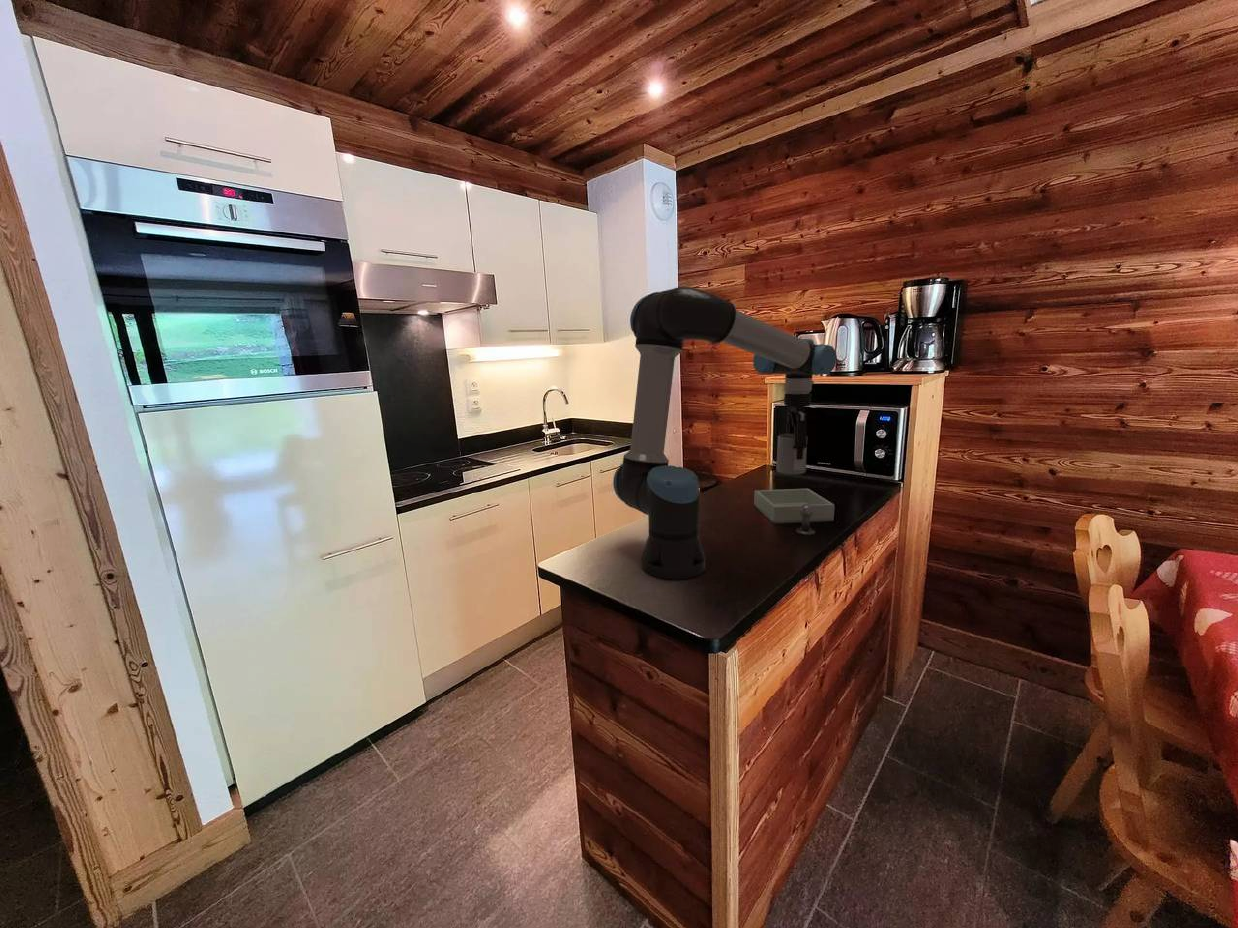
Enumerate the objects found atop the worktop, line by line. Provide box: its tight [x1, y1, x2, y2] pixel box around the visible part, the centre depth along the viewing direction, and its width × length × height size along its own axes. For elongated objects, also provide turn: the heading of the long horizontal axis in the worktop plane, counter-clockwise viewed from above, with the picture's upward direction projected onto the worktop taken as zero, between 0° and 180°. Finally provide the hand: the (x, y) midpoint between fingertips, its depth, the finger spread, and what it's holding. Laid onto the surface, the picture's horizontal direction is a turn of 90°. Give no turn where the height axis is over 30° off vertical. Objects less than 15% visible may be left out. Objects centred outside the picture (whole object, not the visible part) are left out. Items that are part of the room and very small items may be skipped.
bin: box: [753, 488, 836, 524], centre depth 150 cm, size 18×18×5 cm
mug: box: [775, 433, 808, 475], centre depth 147 cm, size 12×8×11 cm
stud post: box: [795, 504, 816, 536], centre depth 133 cm, size 5×5×8 cm
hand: (794, 465), depth 147 cm, fingers closed on mug, 9 cm apart
